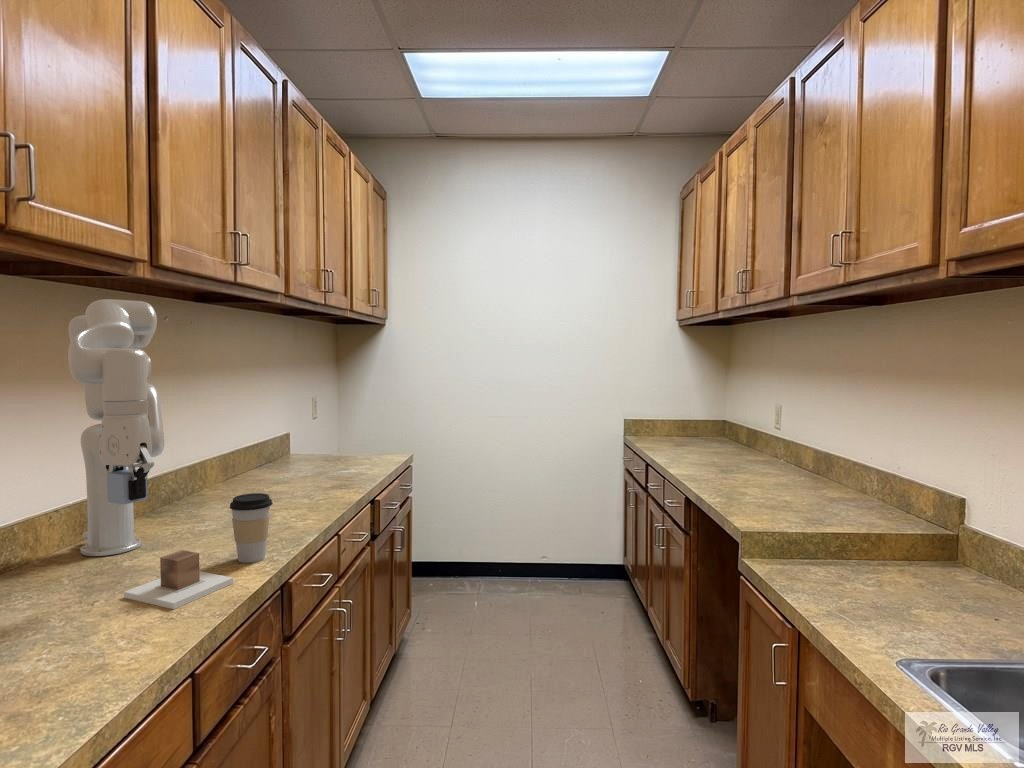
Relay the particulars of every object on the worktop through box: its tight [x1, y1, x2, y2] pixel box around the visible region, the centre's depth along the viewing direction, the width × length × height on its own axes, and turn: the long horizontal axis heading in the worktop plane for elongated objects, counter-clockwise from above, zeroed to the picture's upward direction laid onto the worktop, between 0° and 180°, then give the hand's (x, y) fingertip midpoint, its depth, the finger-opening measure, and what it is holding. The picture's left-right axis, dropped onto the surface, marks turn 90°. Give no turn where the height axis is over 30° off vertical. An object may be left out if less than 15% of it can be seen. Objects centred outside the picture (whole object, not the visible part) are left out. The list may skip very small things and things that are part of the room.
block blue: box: [107, 468, 149, 505], centre depth 120 cm, size 5×5×6 cm
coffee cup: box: [229, 492, 273, 564], centre depth 140 cm, size 9×9×15 cm
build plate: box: [123, 570, 234, 610], centre depth 121 cm, size 14×14×1 cm
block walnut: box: [159, 549, 201, 590], centre depth 121 cm, size 5×5×6 cm
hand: (128, 496), depth 120 cm, fingers closed on block blue, 5 cm apart
